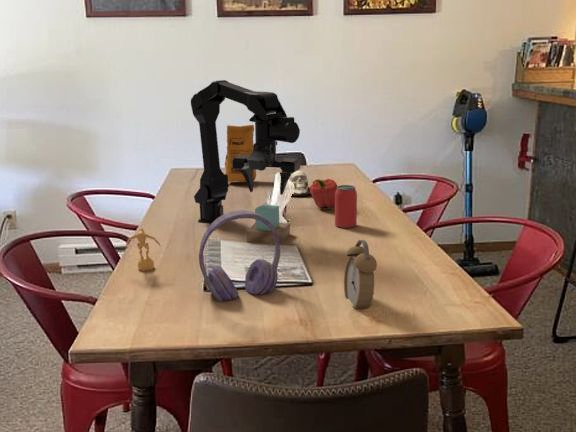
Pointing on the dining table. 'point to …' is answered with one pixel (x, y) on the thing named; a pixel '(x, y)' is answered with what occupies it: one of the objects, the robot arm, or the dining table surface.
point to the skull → (300, 183)
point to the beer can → (345, 206)
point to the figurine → (144, 262)
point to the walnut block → (268, 234)
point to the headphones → (259, 272)
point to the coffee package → (238, 149)
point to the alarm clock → (359, 275)
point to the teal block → (267, 216)
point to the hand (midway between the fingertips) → (266, 193)
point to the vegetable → (324, 192)
